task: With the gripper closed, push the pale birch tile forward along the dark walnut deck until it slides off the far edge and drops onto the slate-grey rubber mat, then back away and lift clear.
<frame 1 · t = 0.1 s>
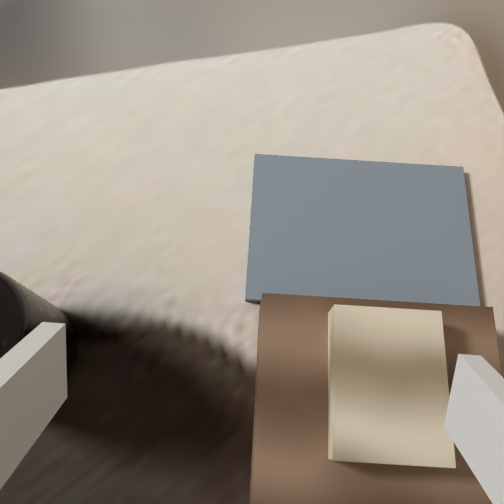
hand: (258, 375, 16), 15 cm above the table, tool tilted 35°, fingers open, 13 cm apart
walnut deck: (364, 407, 30), on the table
supplement bottle: (28, 355, 31), on the table
rubber mat: (359, 232, 34), on the table
birch tile: (380, 385, 27), point 4 cm above the table, touching walnut deck
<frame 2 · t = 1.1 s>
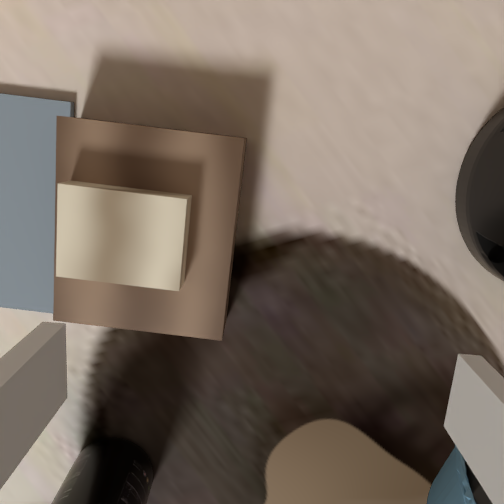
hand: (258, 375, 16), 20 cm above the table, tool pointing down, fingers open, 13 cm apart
walnut deck: (156, 223, 35), on the table
supplement bottle: (117, 467, 41), on the table
birch tile: (128, 232, 31), point 4 cm above the table, touching walnut deck
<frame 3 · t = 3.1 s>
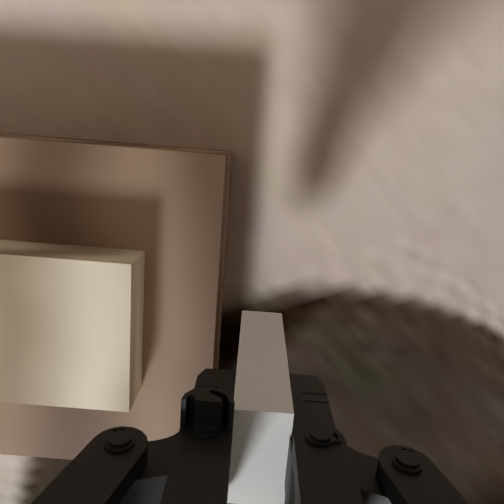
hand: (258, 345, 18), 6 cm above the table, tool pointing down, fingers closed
walnut deck: (102, 285, 23), on the table
birch tile: (47, 313, 19), point 4 cm above the table, touching walnut deck
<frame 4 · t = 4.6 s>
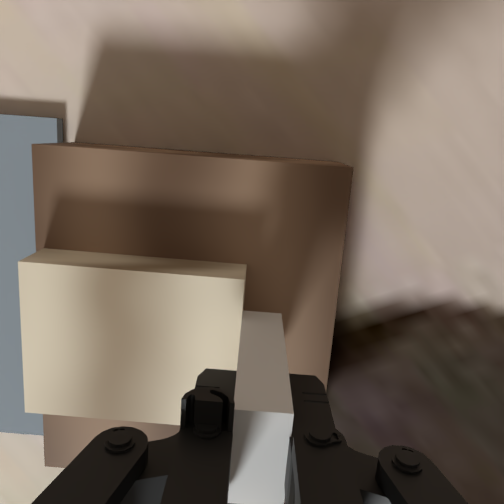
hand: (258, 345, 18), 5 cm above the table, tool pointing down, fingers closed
walnut deck: (198, 297, 23), on the table
birch tile: (143, 327, 19), point 4 cm above the table, touching gripper, walnut deck
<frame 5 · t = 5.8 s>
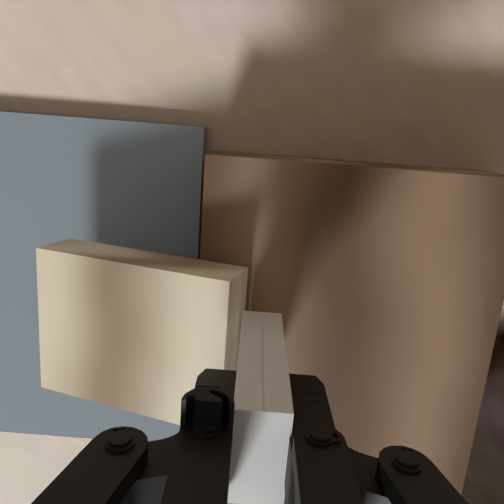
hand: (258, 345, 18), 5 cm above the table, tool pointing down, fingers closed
walnut deck: (330, 306, 23), on the table
rubber mat: (80, 287, 23), on the table
birch tile: (152, 321, 20), point 3 cm above the table, tilted 17°, touching gripper, walnut deck
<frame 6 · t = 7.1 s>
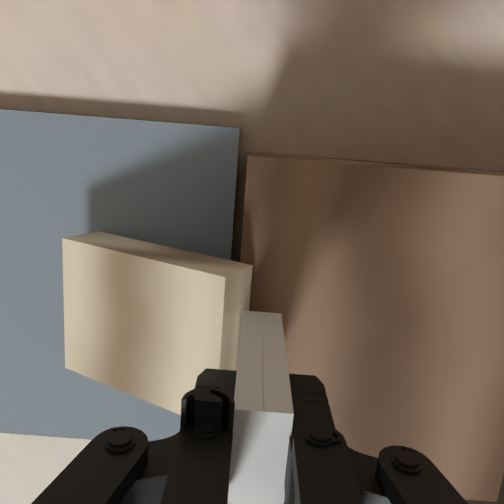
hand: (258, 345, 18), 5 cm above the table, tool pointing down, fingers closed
walnut deck: (362, 308, 23), on the table
rubber mat: (110, 289, 23), on the table
birch tile: (166, 313, 20), point 2 cm above the table, tilted 27°, touching gripper, rubber mat, walnut deck
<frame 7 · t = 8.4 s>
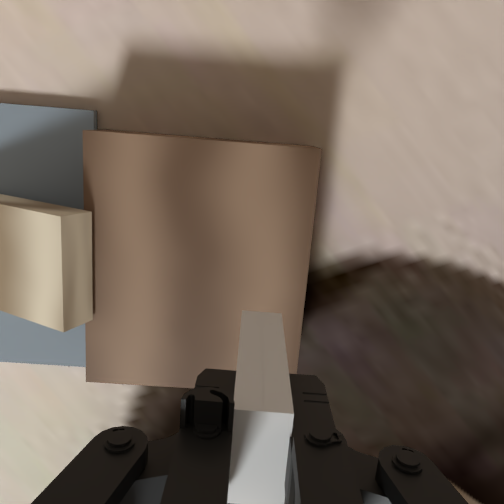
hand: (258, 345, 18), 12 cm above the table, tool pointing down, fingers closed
walnut deck: (203, 253, 29), on the table
rubber mat: (3, 239, 29), on the table
birch tile: (38, 253, 27), point 2 cm above the table, tilted 27°, touching rubber mat, walnut deck
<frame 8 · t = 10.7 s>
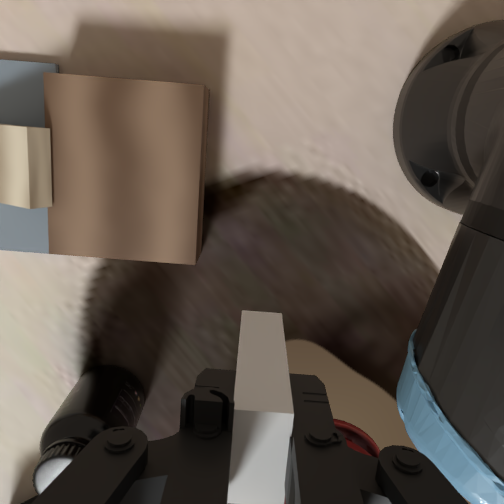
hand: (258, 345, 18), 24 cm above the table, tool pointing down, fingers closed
walnut deck: (135, 169, 41), on the table
supplement bottle: (112, 393, 46), on the table
birch tile: (17, 163, 38), point 2 cm above the table, tilted 27°, touching rubber mat, walnut deck
plant pot: (318, 461, 48), on the table
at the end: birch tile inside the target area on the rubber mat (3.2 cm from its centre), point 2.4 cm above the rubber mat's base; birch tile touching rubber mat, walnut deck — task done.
